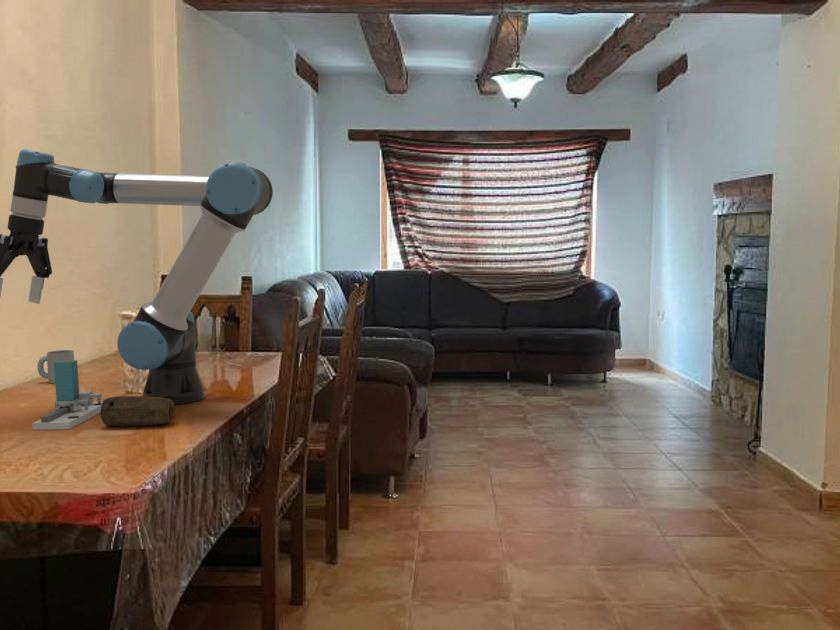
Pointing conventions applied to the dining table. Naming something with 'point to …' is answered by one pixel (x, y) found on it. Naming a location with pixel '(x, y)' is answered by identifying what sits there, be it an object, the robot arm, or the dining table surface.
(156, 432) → the dining table surface
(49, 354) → the cup
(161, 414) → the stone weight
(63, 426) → the gauge plate
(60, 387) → the block
